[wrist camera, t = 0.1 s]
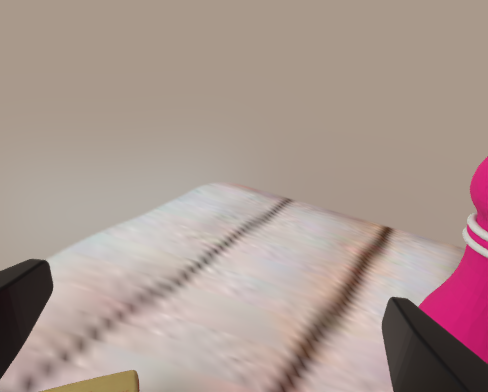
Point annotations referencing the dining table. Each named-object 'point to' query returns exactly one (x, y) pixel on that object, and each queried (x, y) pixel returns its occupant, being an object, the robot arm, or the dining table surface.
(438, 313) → the pepper mill
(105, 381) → the carton
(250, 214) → the dining table surface
